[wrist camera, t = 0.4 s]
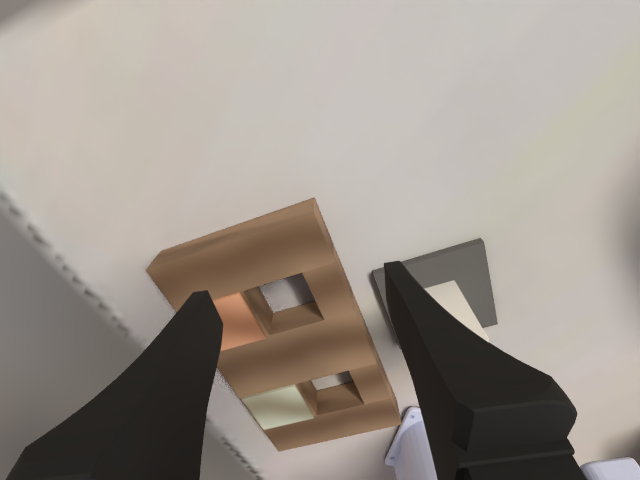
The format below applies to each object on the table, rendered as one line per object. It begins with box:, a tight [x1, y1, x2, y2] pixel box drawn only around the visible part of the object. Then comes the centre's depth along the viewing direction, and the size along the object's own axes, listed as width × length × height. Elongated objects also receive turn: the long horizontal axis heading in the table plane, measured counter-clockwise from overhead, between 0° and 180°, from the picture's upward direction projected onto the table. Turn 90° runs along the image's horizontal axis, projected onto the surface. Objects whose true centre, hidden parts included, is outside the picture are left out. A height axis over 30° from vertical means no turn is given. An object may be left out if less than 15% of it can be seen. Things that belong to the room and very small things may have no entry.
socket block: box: [146, 198, 402, 451], centre depth 28 cm, size 22×12×3 cm, turn 20°
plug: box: [425, 280, 489, 342], centre depth 24 cm, size 3×3×6 cm
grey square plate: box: [373, 238, 498, 349], centre depth 27 cm, size 8×8×1 cm
